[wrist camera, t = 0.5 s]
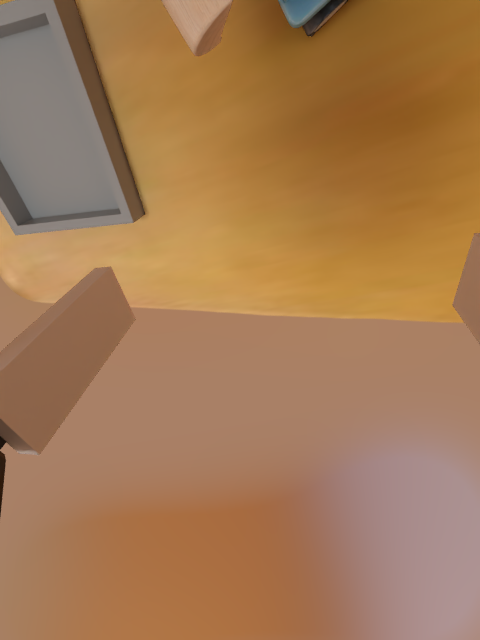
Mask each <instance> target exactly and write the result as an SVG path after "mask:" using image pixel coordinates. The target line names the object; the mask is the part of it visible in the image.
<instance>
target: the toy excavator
mask: <svg viewBox="0 0 480 640" xmlns="http://www.w3.org/2000/svg"><path fill="white" fill-rule="evenodd" d="M161 1H162V2H163V4H164V6H165V8H166V9H167V11H168V13H169V14H170V16H171V18H172V20H173V21H174V23H175V25H176V26H177V28H178V30H179V31H180V33H181V35H182V36H183V38H184V40H185V41H186V43H187V44H188V46H189V48H190V49H191V51H192V52H193V54H194V55H195V56H201V55H203V54H206V53H208V52H209V51H210V50H212V49H213V48H214V47H215V46H217V45H218V44H219V43H220V42H221V39H222V37H221V34H222V31H223V28H224V25H225V21H226V19H227V16H228V13H229V11H230V8H231V5H232V2H233V0H161ZM347 1H348V0H278V2H279V4H280V6H281V8H282V10H283V13H284V15H285V17H286V19H287V21H288V23H289V24H290V25H291V26H292V27H293V28H299V27H301V26H302V27H303V29H304V30H305V33H306V34H307V36H311V37H312V36H313V35H314V34H315V32H316V31H318V30H319V29H320V28H321V27H322V25H324V24H325V23H326V21H328V20H329V19H330V18H331V17H332V16H333V15H334V14H335V13H336V12H337V11H338V10H339V9H340V8H341V6H342V5H344V4H345V3H346V2H347Z"/></svg>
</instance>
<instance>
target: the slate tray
mask: <svg viewBox="0 0 480 640" xmlns="http://www.w3.org/2000/svg"><path fill="white" fill-rule="evenodd" d="M0 210H1V212H2V214H3V215H4V217H5V219H6V220H7V222H8V224H9V225H10V227H11V228H12V230H13V232H14V233H15V235H23V234H32V233H42V232H51V231H60V230H70V229H79V228H89V227H98V226H108V225H117V224H127V223H134V222H135V221H136V220H138V219H139V218H140V217H142V216H143V215H144V214H145V212H144V209H143V206H142V203H141V200H140V197H139V194H138V191H137V188H136V185H135V182H134V179H133V176H132V173H131V170H130V167H129V164H128V161H127V158H126V155H125V152H124V149H123V146H122V143H121V140H120V137H119V134H118V130H117V127H116V124H115V121H114V118H113V115H112V112H111V109H110V106H109V103H108V100H107V97H106V94H105V91H104V88H103V85H102V82H101V79H100V76H99V73H98V70H97V67H96V64H95V61H94V58H93V55H92V52H91V49H90V46H89V43H88V40H87V37H86V34H85V31H84V28H83V25H82V22H81V19H80V16H79V13H78V10H77V7H76V4H75V1H74V0H15V1H12V2H8V3H5V4H2V5H0Z"/></svg>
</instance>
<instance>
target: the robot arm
mask: <svg viewBox="0 0 480 640" xmlns="http://www.w3.org/2000/svg"><path fill="white" fill-rule="evenodd" d="M453 307H454V308H455V310H456V311H457V312H458V314H459V315H460V317H461V318H462V320H463V321H464V322H465V324H466V325H467V326H468V328H469V329H470V331H471V332H472V334H473V335H474V337H475V338H476V340H477V341H478V342H479V344H480V233H474V236H473V239H472V243H471V246H470V249H469V253H468V256H467V259H466V262H465V266H464V269H463V272H462V276H461V279H460V282H459V285H458V289H457V292H456V295H455V298H454V302H453ZM135 320H136V319H135V317H134V314H133V313H132V310H131V308H130V306H129V304H128V302H127V300H126V298H125V295H124V293H123V291H122V289H121V287H120V285H119V283H118V281H117V279H116V276H115V274H114V272H113V270H112V268H111V267H102V268H95V269H94V270H92V271H91V272H90V273H89V274H88V275H87V276H86V277H84V278H83V279H82V280H81V281H80V282H79V283H78V284H77V285H75V286H74V287H73V288H72V289H71V290H70V291H69V292H67V293H66V294H65V295H64V296H63V297H62V298H61V299H60V300H58V301H57V302H56V303H55V304H54V305H53V306H52V307H50V308H49V309H48V310H47V311H46V312H45V313H44V314H43V315H41V316H40V317H39V318H38V319H37V320H36V321H35V322H33V323H32V324H31V325H30V326H29V327H28V328H27V329H26V330H25V331H23V332H22V333H21V334H20V335H19V336H18V337H16V338H15V339H14V340H13V341H12V342H11V343H10V344H9V345H7V346H6V347H5V348H4V349H3V350H2V351H1V352H0V449H1V448H2V447H3V445H4V444H5V443H6V442H7V443H8V444H9V445H10V446H11V447H12V448H13V449H15V450H16V451H17V452H18V453H21V454H35V455H40V454H41V452H42V451H43V449H44V448H45V447H46V445H47V444H48V442H49V441H50V439H51V438H52V437H53V435H54V434H55V433H56V431H57V429H58V428H59V427H60V425H61V424H62V423H63V421H64V420H65V418H66V417H67V416H68V414H69V413H70V411H71V410H72V409H73V407H74V406H75V404H76V403H77V401H78V400H79V398H80V397H81V396H82V394H83V393H84V391H85V390H86V389H87V387H88V386H89V384H90V383H91V382H92V380H93V379H94V377H95V376H96V375H97V373H98V372H99V370H100V369H101V367H102V366H103V365H104V363H105V362H106V361H107V359H108V357H109V356H110V355H111V353H112V352H113V351H114V349H115V348H116V346H117V345H118V344H119V342H120V341H121V339H122V338H123V337H124V335H125V334H126V332H127V331H128V329H129V328H130V327H131V325H132V324H133V322H134V321H135ZM5 462H6V459H5V455H4V454H3V453H2V452H1V451H0V513H1V504H2V494H3V483H4V473H5Z"/></svg>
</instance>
